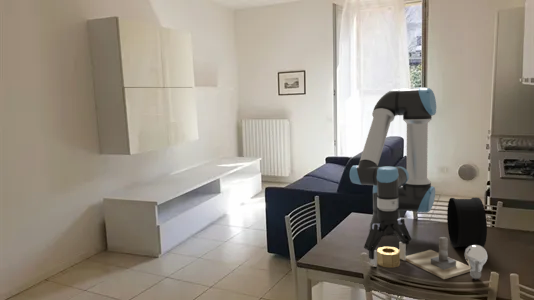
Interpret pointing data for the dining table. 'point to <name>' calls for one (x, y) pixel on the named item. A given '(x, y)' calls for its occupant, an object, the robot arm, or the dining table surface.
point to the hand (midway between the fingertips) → (388, 263)
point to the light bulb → (475, 259)
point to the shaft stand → (438, 261)
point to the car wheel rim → (466, 222)
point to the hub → (388, 257)
